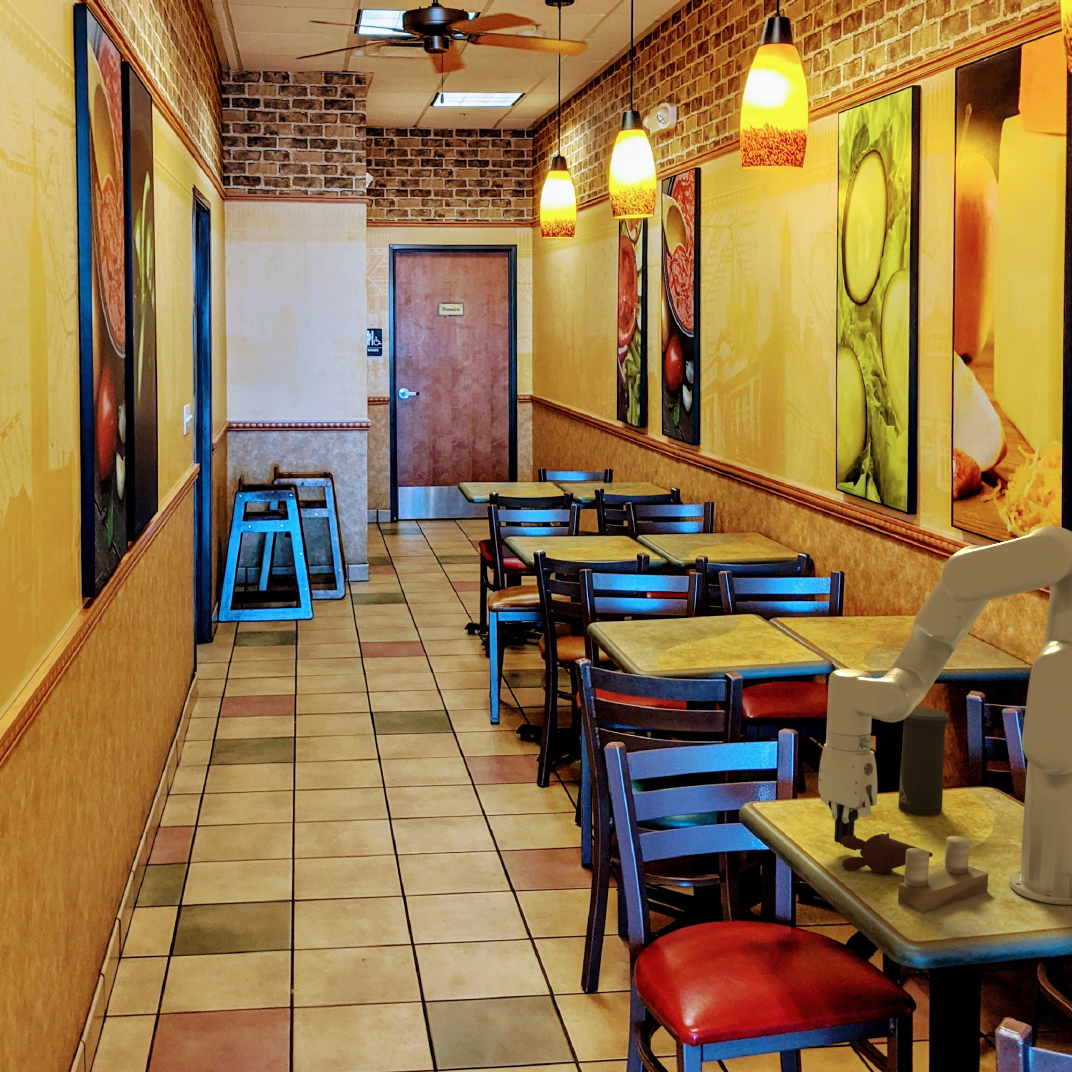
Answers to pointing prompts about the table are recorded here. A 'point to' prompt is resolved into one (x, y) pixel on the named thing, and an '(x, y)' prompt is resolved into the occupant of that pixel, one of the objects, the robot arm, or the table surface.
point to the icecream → (876, 853)
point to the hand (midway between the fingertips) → (843, 841)
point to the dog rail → (940, 878)
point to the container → (922, 762)
